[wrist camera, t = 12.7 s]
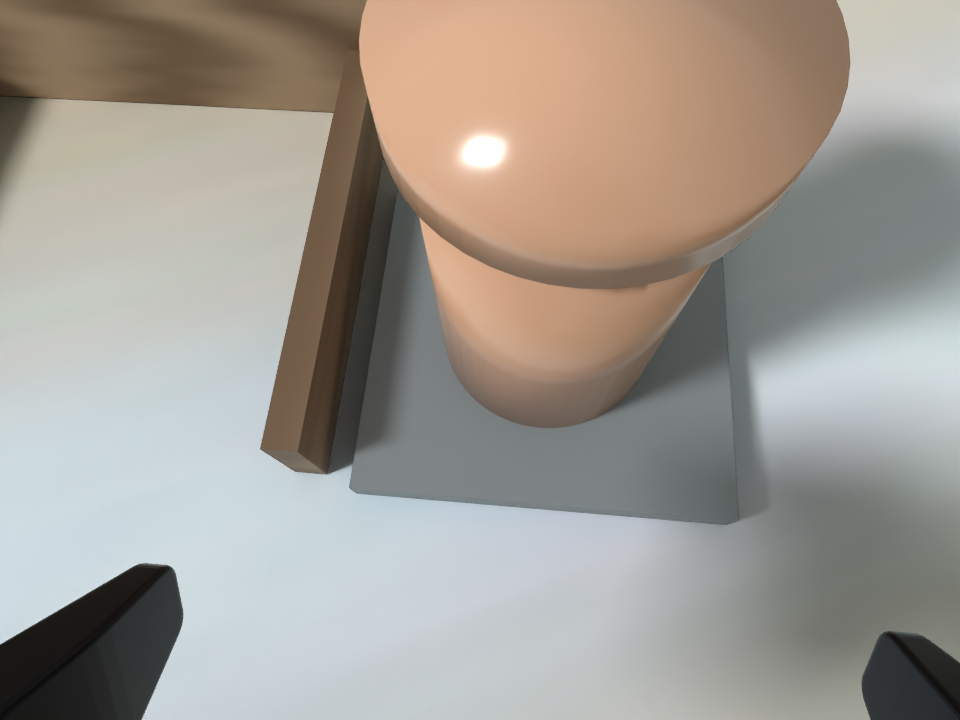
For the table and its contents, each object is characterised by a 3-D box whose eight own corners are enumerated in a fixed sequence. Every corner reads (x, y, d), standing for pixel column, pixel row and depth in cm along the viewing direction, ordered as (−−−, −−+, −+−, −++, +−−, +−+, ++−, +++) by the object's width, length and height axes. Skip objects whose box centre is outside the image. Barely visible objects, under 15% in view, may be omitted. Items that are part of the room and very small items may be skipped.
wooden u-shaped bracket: (393, 95, 24) (348, -128, 17) (326, 474, 19) (216, 391, 12) (-40, 74, 25) (-263, -145, 18) (-221, 428, 20) (-647, 325, 13)
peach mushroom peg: (660, 238, 21) (821, -123, 10) (663, 451, 18) (883, 251, 8) (444, 225, 21) (395, -135, 11) (418, 431, 18) (317, 216, 8)
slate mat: (709, 208, 22) (718, 191, 21) (726, 524, 18) (738, 520, 17) (404, 191, 23) (400, 174, 22) (356, 493, 19) (349, 487, 18)
